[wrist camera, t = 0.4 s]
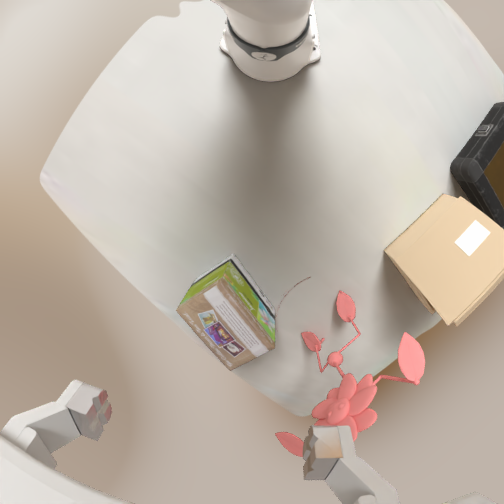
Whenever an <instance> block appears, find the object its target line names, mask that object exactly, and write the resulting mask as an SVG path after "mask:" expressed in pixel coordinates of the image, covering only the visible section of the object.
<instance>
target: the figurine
mask: <svg viewBox="0 0 504 504" xmlns="http://www.w3.org/2000/svg"><path fill="white" fill-rule="evenodd" d="M309 278H310V277H309ZM301 282H302V281H301ZM298 284H299V283H298ZM295 286H296V285H295ZM283 295H284V294H283ZM286 295H287V294H286ZM286 295H285V296H286ZM280 304H281V303H280ZM336 305H337V311H338V314H339V316H340V317H341V318H342V319H343V320H344V321H345V322H350V321H351V322H352V324H353V326H354V327H355V329H356V331H357V332H358V335H357V336H356V337H355V338H354V339H352V340H351V341H350V342H349V343H348V344H347V345H346V346H344V347H343V348H342V349H341V350H340V351H338V352H332V353H331V354H330V355H329V356H328V359H327V361H328V362H327V363H326V365H325V366H324V368H323V369H322V368H321V363H320V358H319V353H318V351H320V350H321V343H322V342H323V341H324V338H322V340H321V341H319V339H318V338H317V336H316V335H315V334H314V333H312V332H303V333H301V334H302V337H303V339H304V342H305V344H306V345H307V347H308V348H309V349H310V350H311V351H314V352H317V357H318V363H319V368H320V372H321V373H322V372H323V370H324V369H325V368H326V366H327V365H328V364H329V365H331V366H333V367H336V368H337V370H338V371H339V373H340V375H341V376H342V378H343V380H342V382H341V384H340V387H339V388H333V389H332V390H330V391H329V393H328V395H327V399H326V400H324V401H322V402H321V403H319V404H318V405H317V406H316V407H315V408H314V409H313V410H312V417H313V418H317V419H319V420H318V421H317V422H316V423H315V424H314V426H328V425H335V426H345V425H348V426H349V427H350V429H351V433H352V438H353V442H354V441H355V440H356V438H357V432H361V431H363V430H365V429H367V428H368V427H370V426H371V425H373V423H374V422H375V421H376V420H377V413H376V412H375V411H374V410H372V409H370V408H367V407H368V405H369V404H370V403H371V401H372V400H373V398H374V396H375V394H376V391H377V387H376V385H375V384H376V383H377V382H378V381H379V380H380V379H381V378H384V379H389V380H395V381H401V382H408V383H414V384H415V385H418V384H419V383H420V381H419V379H420V378H421V376H422V375H423V373H424V366H425V358H424V353H423V350H422V348H421V347H420V345H419V343H418V342H417V341H416V340H415V339H414V338H413V337H412V336H411V335H409V334H408V333H406V332H404V334H403V336H402V339H401V342H400V346H399V349H398V363H399V366H400V369H401V371H402V373H403V374H404V376H405V377H406V378H407V379H406V378H400V377H393V376H386V375H380V376H379V377H378V378H377V379H376V380H375V381H374V382H373V377H372V375H371V374H367V375H366V376H364V377H363V378H362V380H361V381H360V382H359V383H358V384H357V382H356V380H355V378H354V376H353V375H352V374H351V373H348V374H346V375H345V374H344V373H343V371H342V370H341V369H340V367H339V365H341V363H342V362H343V356H342V354H341V353H340V352H341V351H343V350H344V349H345V348H346V347H347V346H348V345H349V344H351V343H352V342H353V341H354V340H355V339H356V338H357V337H359V336H360V334H361V333H360V332H359V330H358V328H357V327H356V325H355V324H354V322H353V319H354V318H355V311H356V308H355V304H354V302H353V300H352V299H351V297H350V296H349V295H347V294H345V293H344V292H342V291H339V294H338V297H337V302H336ZM279 306H280V305H279ZM276 316H277V315H276ZM276 330H277V329H276ZM275 435H276V436H277V438H278V440H279V441H280V442H281V444H282V445H283V446H284V447H285V448H286V449H287V450H288V451H289V452H291V453H292V454H294V455H296V456H300V457H303V444H304V442H303V441H302V440H301V439H300V438H298V437H296V436H295V435H293V434H290V433H288V432H279V433H275Z"/></svg>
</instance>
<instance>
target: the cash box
mask: <svg viewBox="0 0 504 504" xmlns="http://www.w3.org/2000/svg"><path fill="white" fill-rule="evenodd" d="M450 169H451V172H452V174H453V175H454V177H455V178H456V180H457V181H458V183H459V184H460V186H461V187H462V189H463V190H464V192H465V193H466V195H467V196H468V198H469V200H470V201H471V203H472V204H473V205H474V206H475V207H476V208H478V209H479V210H480V211H481V212H483V213H484V214H485V215H487V216H488V217H489V218H490V219H492V220H493V221H494V222H495V223H497V224H498V225H499V226H500V227H501V228H503V229H504V102H500V103H496V104H494V105H493V107H492V108H491V110H490V111H489V113H488V114H487V116H486V117H485V119H484V120H483V121H482V123H481V124H480V126H479V127H478V128H477V130H476V131H475V133H474V134H473V135H472V137H471V138H470V139H469V141H468V142H467V143H466V145H465V146H464V147H463V149H462V150H461V151H460V153H459V154H458V155H457V157H456V158H455V159H454V161H453V162H452V164H451V167H450Z"/></svg>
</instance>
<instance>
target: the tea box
mask: <svg viewBox="0 0 504 504" xmlns="http://www.w3.org/2000/svg"><path fill="white" fill-rule="evenodd" d="M176 311H177V312H178V313H179V315H180V316H181V317H182V318H183V319H184V320H185V322H186V323H187V324H188V325H189V326H190V327H191V328H192V330H193V331H194V332H195V333H196V334H197V335H198V336H199V338H200V339H201V340H202V341H203V342H204V343H205V344H206V345H207V346H208V348H209V349H210V350H211V351H212V352H213V353H214V354H215V355H216V356H217V357H218V358H219V360H220V361H221V362H222V363H223V364H224V365H225V366H226V367H227V368H228V369H229V370H230V371H231V370H233V369H235V368H237V367H239V366H241V365H243V364H245V363H247V362H249V361H251V360H253V359H255V358H257V357H259V356H261V355H262V354H264V353H266V352H268V351H270V350H272V349H275V309H274V308H273V306H272V305H271V303H270V302H269V301H268V299H267V298H266V297H265V295H264V294H263V292H262V291H261V290H260V288H259V287H258V286H257V284H256V283H255V282H254V280H253V279H252V278H251V276H250V275H249V274H248V272H247V271H246V270H245V268H244V267H243V265H242V264H241V263H240V261H239V260H238V259H237V258H236V256H235V255H234V254H232V255H230V256H229V257H228V258H226V259H225V260H223V261H222V262H220V263H219V264H217V265H216V266H214V267H213V268H211V269H210V270H209V271H207V272H205V273H204V274H202V275H201V276H199V277H198V278H196V280H195V281H194V283H193V284H192V285H191V287H190V289H189V290H188V292H187V293H186V295H185V297H184V298H183V300H182V301H181V303H180V305H179V306H178V308H177V310H176Z"/></svg>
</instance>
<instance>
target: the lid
mask: <svg viewBox="0 0 504 504" xmlns="http://www.w3.org/2000/svg"><path fill="white" fill-rule="evenodd" d="M395 263H396V264H397V265H398V266H399V267H400V268H401V269H402V270H403V272H404V273H405V274H406V275H407V276H408V277H409V279H410V280H411V281H412V282H413V283H414V284H415V286H416V287H417V288H418V289H419V290H420V292H421V293H422V294H423V295H424V296H425V298H426V299H427V300H428V301H429V303H430V304H431V305H432V306H433V308H434V309H435V310H436V311H437V313H438V314H439V315H440V316H441V318H442V319H443V320H444V322H445V323H446V324H447V326H449V325H450V324H451V323H452V322H454V323H455V326H458V325H459V324H460V323H461V322H462V321H463V320H464V319H466V317H468V316H469V315H470V314H471V313H472V312H473V311H474V310H475V309H476V308H477V307H478V306H479V305H480V304H481V303H482V302H483V301H484V299H485V298H486V297H487V296H488V295H489V294H490V293H491V292H492V291H493V290H494V289H495V288H496V287H497V285H498V284H499V283H500V282H501V281H502V280H503V279H504V229H503V228H501V227H500V226H499V225H498V224H497V223H495V222H494V221H493V220H492V219H490V218H489V217H488V216H487V215H485V214H484V213H483V212H481V211H480V210H479V209H478V208H476V207H475V206H474V205H472V204H471V203H469V202H468V201H467V200H465V199H464V198H463V197H461V196H460V197H459V198H458V199H457V200H456V201H455V203H454V204H453V205H452V206H451V207H450V208H449V209H448V210H447V211H446V212H445V213H444V214H443V215H442V216H441V217H440V218H439V219H438V220H437V221H436V222H435V223H434V224H433V225H432V226H431V227H430V228H429V229H428V230H427V231H426V232H425V233H424V234H423V235H422V236H421V237H420V238H419V239H418V240H417V241H416V242H414V243H413V244H412V245H411V246H410V247H409V248H408V249H407V250H406V251H405V252H404V253H403V254H402V255H400V256H399V257H398V258H397V259H396V260H395Z"/></svg>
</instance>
